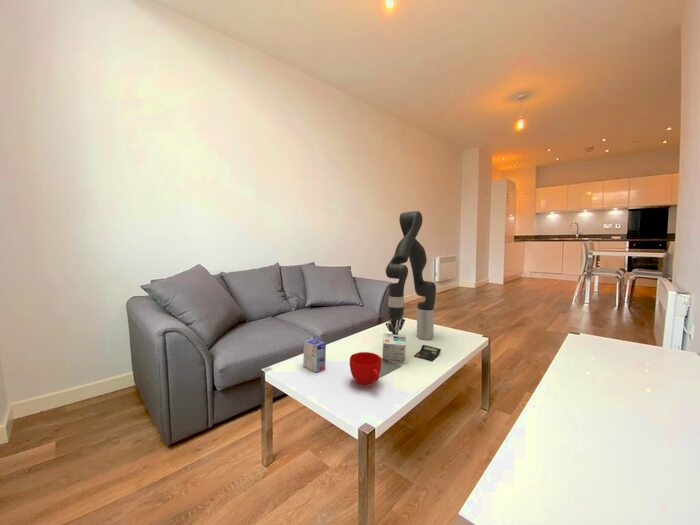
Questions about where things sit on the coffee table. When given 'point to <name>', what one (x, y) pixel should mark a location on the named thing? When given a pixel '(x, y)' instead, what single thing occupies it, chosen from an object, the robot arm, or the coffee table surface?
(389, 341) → the light bulb box
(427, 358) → the calculator
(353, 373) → the ceramic cup
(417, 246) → the robot arm
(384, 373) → the mat
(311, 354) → the ink cartridge box
